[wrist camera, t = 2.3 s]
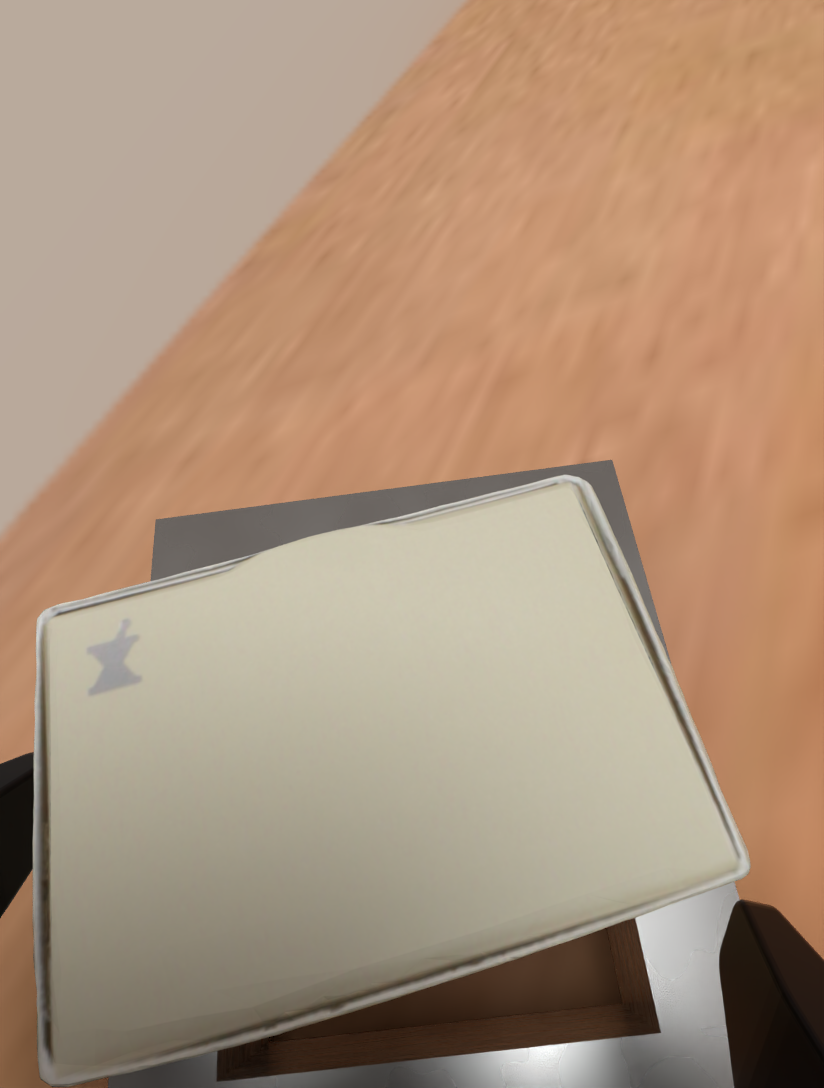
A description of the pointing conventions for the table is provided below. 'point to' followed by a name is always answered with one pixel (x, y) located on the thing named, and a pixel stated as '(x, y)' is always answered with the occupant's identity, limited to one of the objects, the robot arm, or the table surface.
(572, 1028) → the socket block
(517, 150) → the table surface
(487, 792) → the skincare box
